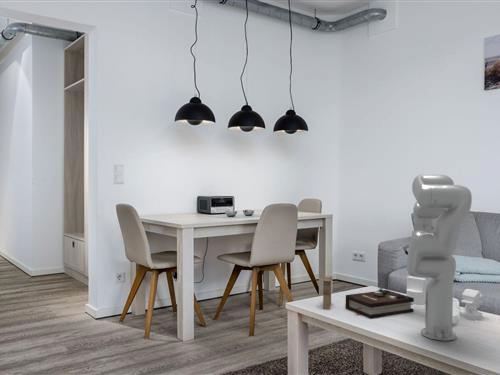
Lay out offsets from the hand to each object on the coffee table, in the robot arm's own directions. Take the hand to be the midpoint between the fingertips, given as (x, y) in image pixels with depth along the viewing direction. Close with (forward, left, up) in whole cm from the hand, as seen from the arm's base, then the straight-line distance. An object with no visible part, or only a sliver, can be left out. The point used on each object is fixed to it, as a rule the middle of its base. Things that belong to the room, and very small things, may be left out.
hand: (422, 266), depth 199 cm
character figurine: (0, -20, -21) cm, 29 cm away
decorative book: (-1, +18, -22) cm, 29 cm away
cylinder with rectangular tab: (+20, 0, -21) cm, 29 cm away
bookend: (0, +42, -21) cm, 47 cm away
